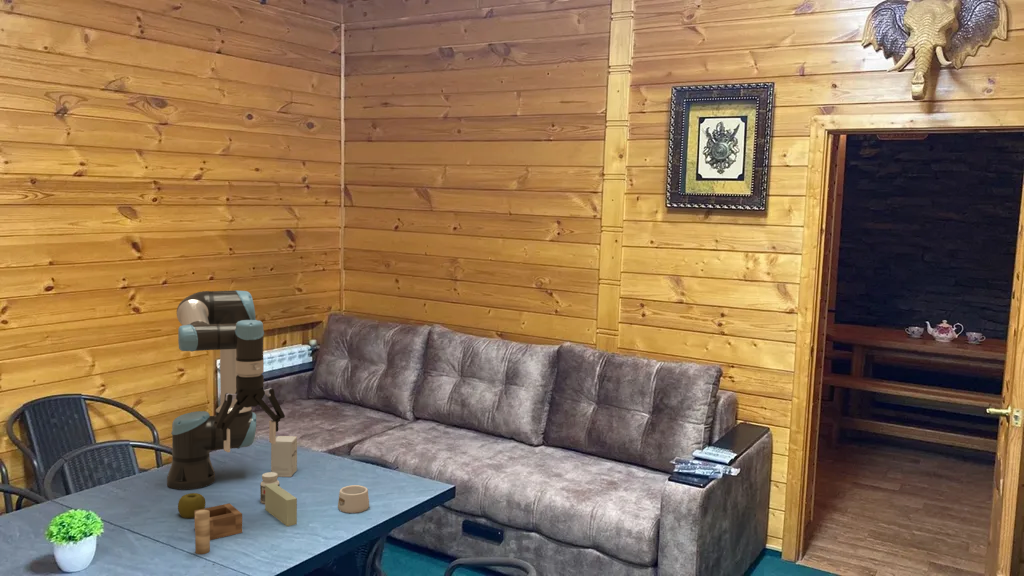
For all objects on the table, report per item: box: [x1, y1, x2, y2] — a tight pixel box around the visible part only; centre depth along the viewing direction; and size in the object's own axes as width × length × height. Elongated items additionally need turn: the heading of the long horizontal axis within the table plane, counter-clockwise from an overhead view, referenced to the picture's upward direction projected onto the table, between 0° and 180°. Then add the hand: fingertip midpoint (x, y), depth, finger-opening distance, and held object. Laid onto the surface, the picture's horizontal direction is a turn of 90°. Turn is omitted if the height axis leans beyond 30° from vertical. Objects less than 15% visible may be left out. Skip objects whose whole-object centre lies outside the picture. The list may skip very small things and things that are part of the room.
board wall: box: [264, 483, 298, 527], centre depth 230 cm, size 16×28×9 cm, turn 129°
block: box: [193, 502, 243, 541], centre depth 226 cm, size 10×10×6 cm
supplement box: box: [270, 435, 298, 478], centre depth 280 cm, size 7×7×13 cm
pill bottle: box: [259, 471, 280, 505], centre depth 250 cm, size 6×6×10 cm
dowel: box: [194, 510, 211, 555], centre depth 212 cm, size 4×4×12 cm
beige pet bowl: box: [337, 484, 370, 514], centre depth 250 cm, size 12×10×6 cm
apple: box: [177, 492, 207, 519], centre depth 238 cm, size 8×8×7 cm
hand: (250, 447), depth 230 cm, fingers open, 13 cm apart
